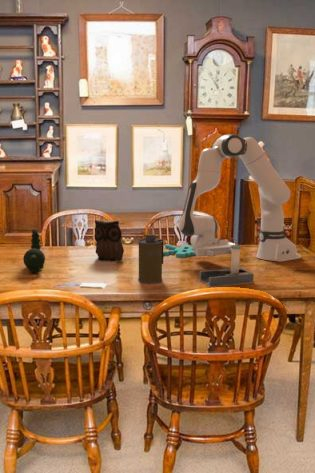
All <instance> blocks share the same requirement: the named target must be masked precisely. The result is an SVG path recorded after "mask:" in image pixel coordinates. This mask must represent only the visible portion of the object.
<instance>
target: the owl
mask: <svg viewBox="0 0 315 473" xmlns="http://www.w3.org/2000/svg"><path fill="white" fill-rule="evenodd" d="M119 223H120V221H119V220H105V219H104V220H97V219H94V224H95V227H94V240H95V243H96V245H95V254H96V255H97V260H98V261H100V262H110V263H111V262H123V258H124V252H125V249H124V245H123V242H122V238H123V236H122V235H123V234H122V229H121V228H120V227H121V226H120V224H119Z"/></svg>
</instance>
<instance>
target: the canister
mask: <svg viewBox="0 0 315 473" xmlns="http://www.w3.org/2000/svg"><path fill="white" fill-rule="evenodd" d="M143 237H144V238H141V239H139V240H137V243H138V278H137V281H139V282H140V283H142V284H143V283H144V284H150V283H152V284H159V283H162V281H163V265H164V256H163V252H164V239H163V238H157V237H156V235H155V234H153V233H148V234H144V235H143Z"/></svg>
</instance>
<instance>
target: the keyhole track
mask: <svg viewBox="0 0 315 473" xmlns="http://www.w3.org/2000/svg"><path fill="white" fill-rule="evenodd" d="M198 280H199V281H201V282H202V283H203V284H205V285H206V286H208V287H209V288H210V287H212V288H218V287H217V286H222V287H229V286H239V285H240V286H241V285H247V284H248V285H249V284H254V283H255V282H254V273H253V272H250V271H249V270H247V269H245V268H244V267H241V266H239V273H234V274H231V267H230V268H221V269H209V270H208V269H207V270H200V271H199V279H198Z"/></svg>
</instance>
